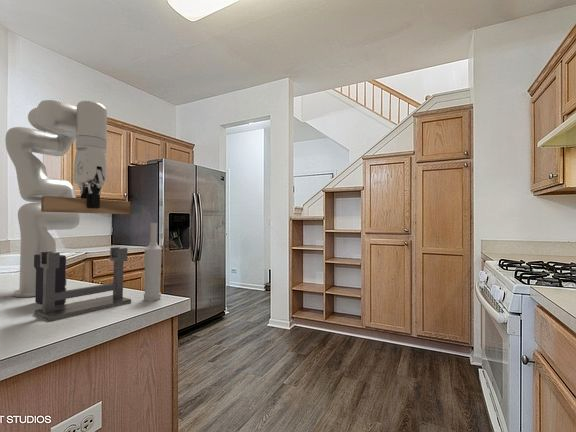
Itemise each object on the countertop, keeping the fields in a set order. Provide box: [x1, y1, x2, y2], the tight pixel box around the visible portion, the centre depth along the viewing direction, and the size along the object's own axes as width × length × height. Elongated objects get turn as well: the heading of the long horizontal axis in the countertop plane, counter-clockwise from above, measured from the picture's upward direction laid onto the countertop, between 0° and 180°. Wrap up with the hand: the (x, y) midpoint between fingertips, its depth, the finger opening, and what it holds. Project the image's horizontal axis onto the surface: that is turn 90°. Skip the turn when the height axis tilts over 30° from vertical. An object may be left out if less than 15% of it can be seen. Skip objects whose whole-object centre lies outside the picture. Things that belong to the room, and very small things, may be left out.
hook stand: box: [33, 246, 132, 322], centre depth 87 cm, size 10×21×17 cm, turn 147°
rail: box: [41, 196, 131, 215], centre depth 87 cm, size 3×22×4 cm, turn 147°
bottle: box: [143, 222, 163, 302], centre depth 98 cm, size 5×5×25 cm
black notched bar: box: [34, 254, 68, 306], centre depth 91 cm, size 11×4×15 cm, turn 63°
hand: (90, 207), depth 87 cm, fingers closed on rail, 3 cm apart
